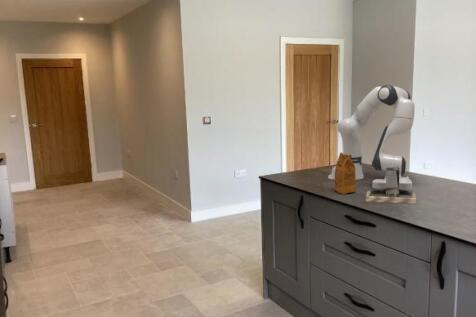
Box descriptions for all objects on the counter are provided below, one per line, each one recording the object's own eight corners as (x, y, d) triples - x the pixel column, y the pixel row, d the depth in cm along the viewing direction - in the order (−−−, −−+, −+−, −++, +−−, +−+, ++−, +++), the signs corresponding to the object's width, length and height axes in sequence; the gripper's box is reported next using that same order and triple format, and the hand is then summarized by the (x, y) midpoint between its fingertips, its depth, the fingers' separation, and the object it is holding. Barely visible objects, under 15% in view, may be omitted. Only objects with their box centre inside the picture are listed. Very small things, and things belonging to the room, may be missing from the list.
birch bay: (365, 201, 217) (365, 196, 217) (367, 195, 229) (367, 190, 228) (416, 204, 208) (416, 199, 208) (415, 197, 220) (415, 192, 220)
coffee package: (348, 188, 246) (347, 151, 242) (358, 193, 234) (357, 154, 230) (332, 189, 244) (331, 152, 241) (341, 195, 232) (340, 155, 229)
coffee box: (399, 202, 213) (399, 170, 210) (385, 201, 215) (385, 170, 213) (399, 197, 221) (399, 167, 219) (386, 196, 224) (386, 166, 221)
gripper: (372, 175, 238) (370, 181, 225) (411, 176, 230) (412, 182, 218) (372, 186, 239) (370, 192, 226) (411, 188, 231) (412, 194, 219)
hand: (391, 187), depth 222 cm, fingers closed, pressing on coffee box
